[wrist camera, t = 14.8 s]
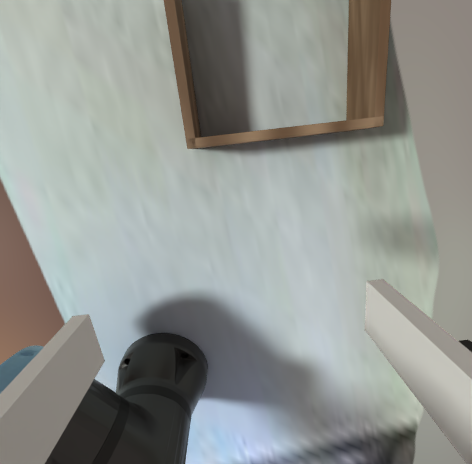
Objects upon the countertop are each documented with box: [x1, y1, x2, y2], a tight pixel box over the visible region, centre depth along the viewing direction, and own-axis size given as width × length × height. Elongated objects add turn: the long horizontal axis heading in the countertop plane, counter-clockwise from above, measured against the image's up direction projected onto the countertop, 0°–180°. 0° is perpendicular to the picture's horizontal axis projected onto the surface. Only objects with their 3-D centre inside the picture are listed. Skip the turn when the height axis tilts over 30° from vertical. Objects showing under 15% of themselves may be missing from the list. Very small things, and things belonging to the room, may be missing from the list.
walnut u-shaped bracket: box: [164, 0, 391, 149], centre depth 29 cm, size 22×17×7 cm
